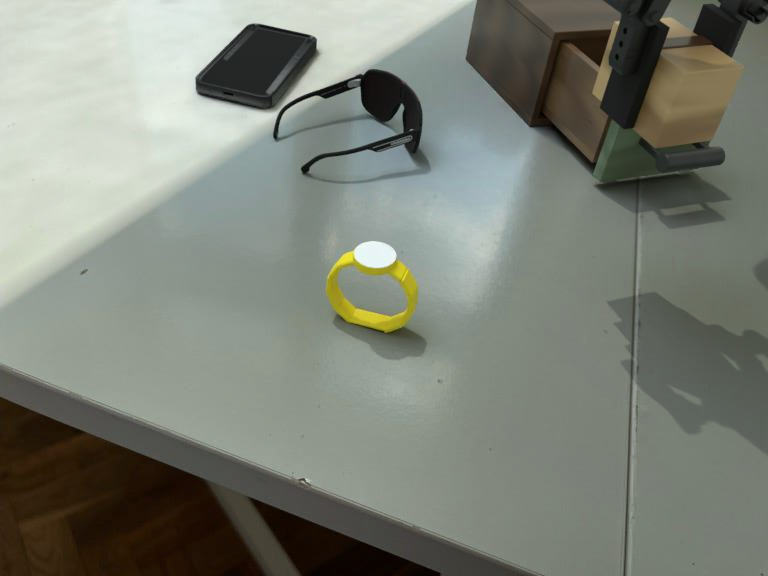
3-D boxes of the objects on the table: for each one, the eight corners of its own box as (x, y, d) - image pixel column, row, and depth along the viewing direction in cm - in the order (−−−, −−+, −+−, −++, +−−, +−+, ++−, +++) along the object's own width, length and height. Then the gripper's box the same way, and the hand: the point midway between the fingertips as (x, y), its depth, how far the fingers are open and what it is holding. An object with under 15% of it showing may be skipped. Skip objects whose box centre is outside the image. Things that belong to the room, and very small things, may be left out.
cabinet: (630, 116, 81) (663, 26, 74) (529, 126, 76) (554, 32, 70) (558, 52, 90) (581, -32, 84) (465, 58, 86) (482, -30, 80)
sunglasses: (435, 159, 70) (438, 110, 66) (315, 202, 65) (311, 152, 62) (376, 103, 76) (376, 56, 72) (263, 138, 72) (257, 90, 68)
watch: (415, 321, 54) (429, 254, 50) (404, 348, 52) (417, 280, 48) (333, 296, 55) (340, 229, 51) (319, 322, 53) (325, 253, 49)
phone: (319, 36, 83) (270, 98, 72) (319, 47, 84) (270, 109, 73) (249, 21, 84) (190, 80, 73) (249, 31, 85) (190, 91, 74)
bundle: (713, 142, 49) (747, 64, 46) (652, 150, 47) (683, 71, 44) (646, 88, 54) (673, 15, 50) (589, 95, 52) (613, 19, 49)
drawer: (728, 195, 69) (767, 117, 64) (627, 210, 66) (660, 129, 60) (616, 97, 81) (641, 25, 76) (525, 106, 78) (545, 30, 72)
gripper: (894, -340, 41) (718, 75, 56) (613, -381, 34) (503, 97, 50) (1027, -321, 36) (794, 128, 51) (726, -365, 29) (565, 161, 45)
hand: (650, 112), depth 50 cm, fingers closed on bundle, 5 cm apart
